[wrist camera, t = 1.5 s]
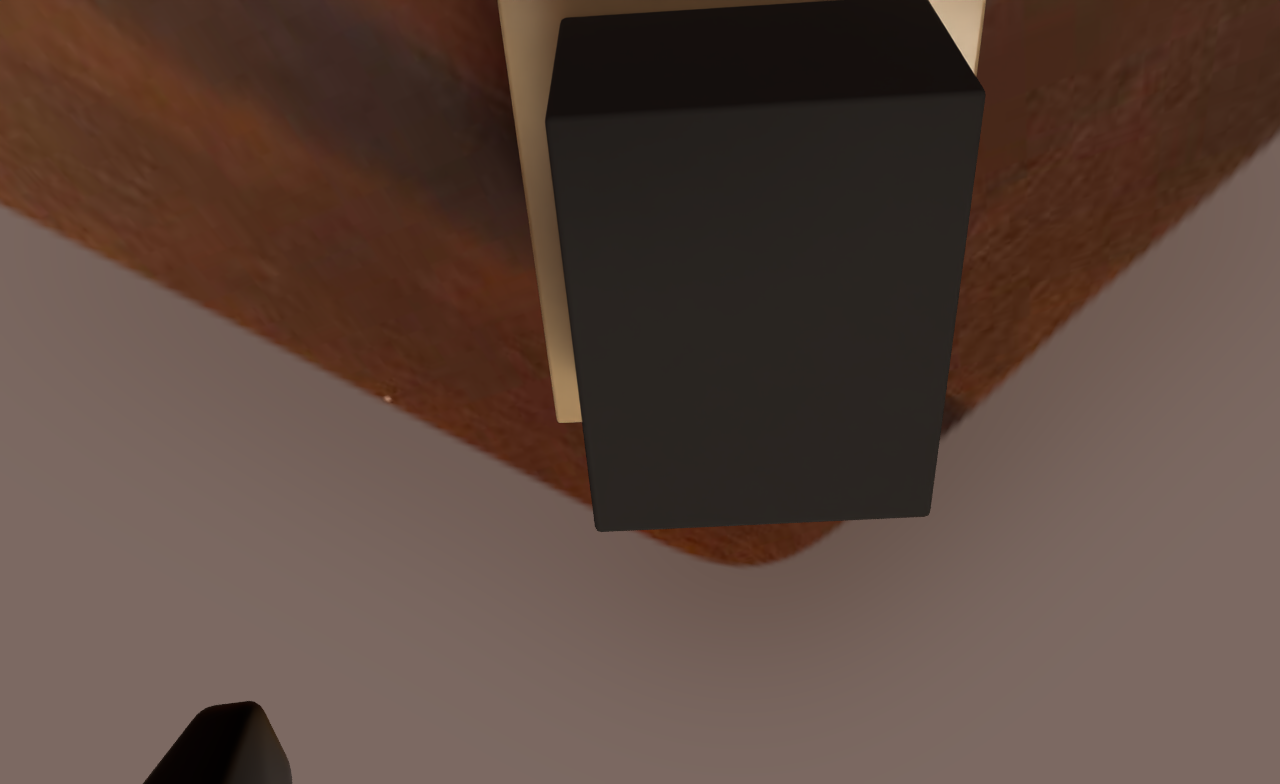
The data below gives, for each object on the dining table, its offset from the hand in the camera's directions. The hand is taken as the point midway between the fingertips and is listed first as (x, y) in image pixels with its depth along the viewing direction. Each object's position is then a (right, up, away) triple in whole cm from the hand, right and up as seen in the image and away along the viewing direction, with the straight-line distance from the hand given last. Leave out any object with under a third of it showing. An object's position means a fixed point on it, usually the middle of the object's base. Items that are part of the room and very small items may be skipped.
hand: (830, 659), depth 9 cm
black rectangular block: (0, +4, +7) cm, 8 cm away
